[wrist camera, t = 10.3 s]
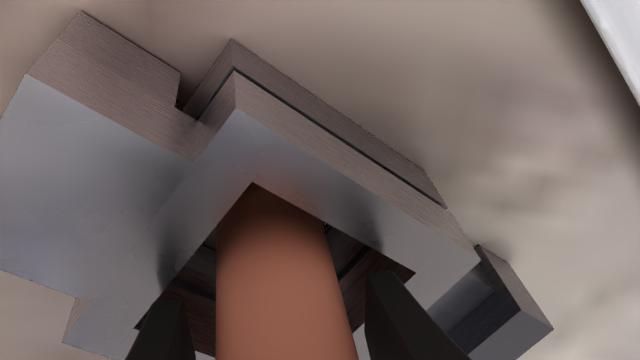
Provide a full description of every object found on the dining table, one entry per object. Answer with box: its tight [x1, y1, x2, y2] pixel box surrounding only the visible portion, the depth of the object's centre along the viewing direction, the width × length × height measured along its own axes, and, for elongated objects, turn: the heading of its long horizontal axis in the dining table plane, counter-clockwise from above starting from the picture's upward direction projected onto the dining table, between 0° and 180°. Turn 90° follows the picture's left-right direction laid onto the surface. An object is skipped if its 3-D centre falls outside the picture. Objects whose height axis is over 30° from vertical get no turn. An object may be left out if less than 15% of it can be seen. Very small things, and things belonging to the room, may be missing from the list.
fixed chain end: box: [170, 39, 554, 360], centre depth 16 cm, size 13×7×3 cm, turn 51°
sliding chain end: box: [0, 11, 481, 360], centre depth 14 cm, size 11×7×4 cm
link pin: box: [215, 182, 359, 360], centre depth 13 cm, size 3×3×8 cm
